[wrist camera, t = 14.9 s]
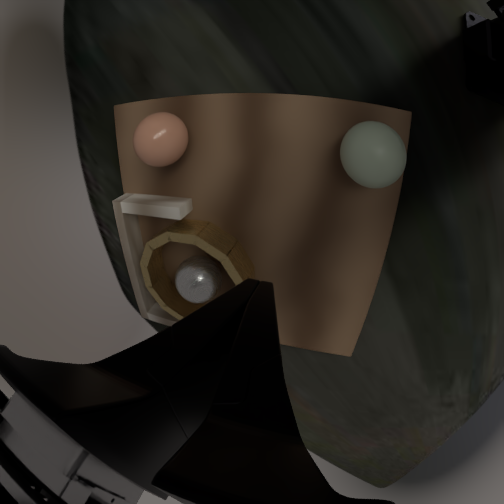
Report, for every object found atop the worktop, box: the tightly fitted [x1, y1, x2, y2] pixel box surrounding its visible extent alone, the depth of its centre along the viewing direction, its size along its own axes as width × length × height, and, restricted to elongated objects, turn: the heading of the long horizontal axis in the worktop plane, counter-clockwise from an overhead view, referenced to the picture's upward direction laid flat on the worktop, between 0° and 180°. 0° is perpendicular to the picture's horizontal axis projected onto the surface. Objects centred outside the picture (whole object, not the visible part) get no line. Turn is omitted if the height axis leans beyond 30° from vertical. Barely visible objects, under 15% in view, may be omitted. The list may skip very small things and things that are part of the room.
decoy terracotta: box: [133, 112, 189, 167], centre depth 18 cm, size 4×4×4 cm
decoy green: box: [340, 121, 407, 188], centre depth 15 cm, size 4×4×4 cm
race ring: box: [140, 219, 255, 320], centre depth 25 cm, size 10×10×2 cm
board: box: [112, 93, 412, 356], centre depth 23 cm, size 23×22×3 cm
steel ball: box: [175, 256, 222, 303], centre depth 24 cm, size 4×4×4 cm
